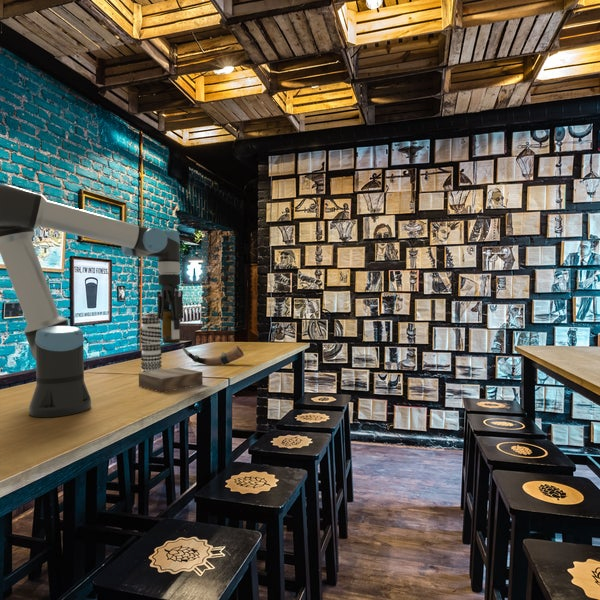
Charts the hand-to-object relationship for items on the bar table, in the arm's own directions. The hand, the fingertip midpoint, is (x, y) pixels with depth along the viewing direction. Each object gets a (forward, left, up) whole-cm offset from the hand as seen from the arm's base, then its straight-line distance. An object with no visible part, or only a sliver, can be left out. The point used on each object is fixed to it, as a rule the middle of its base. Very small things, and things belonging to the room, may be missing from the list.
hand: (170, 338), depth 149 cm
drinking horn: (+37, +26, -17) cm, 48 cm away
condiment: (0, -1, -2) cm, 2 cm away
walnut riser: (0, 0, -17) cm, 17 cm away
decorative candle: (+12, +36, -17) cm, 42 cm away
